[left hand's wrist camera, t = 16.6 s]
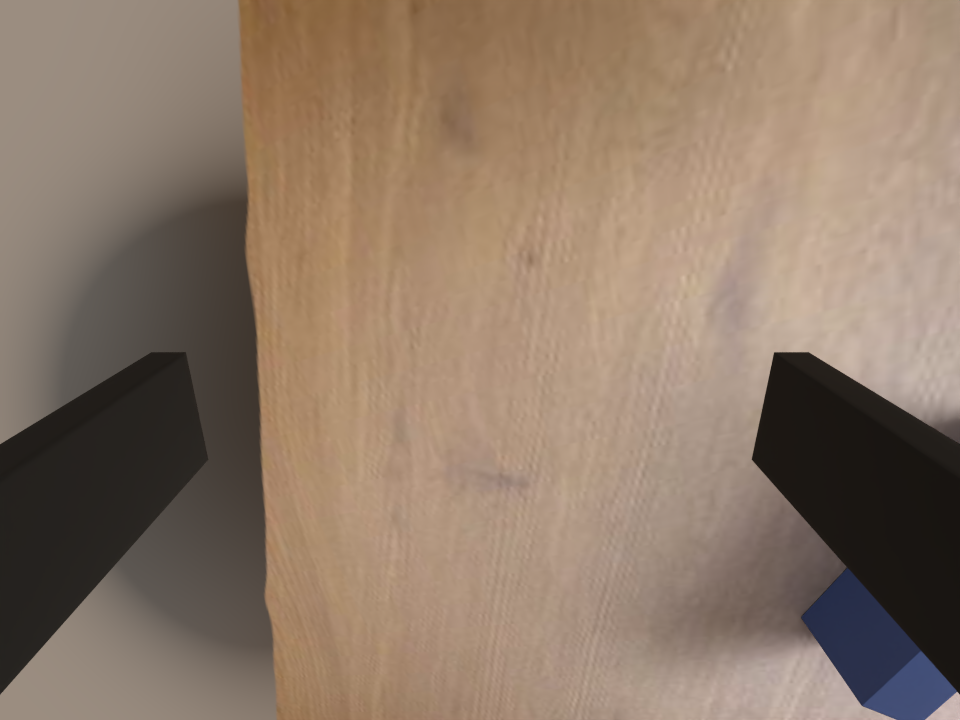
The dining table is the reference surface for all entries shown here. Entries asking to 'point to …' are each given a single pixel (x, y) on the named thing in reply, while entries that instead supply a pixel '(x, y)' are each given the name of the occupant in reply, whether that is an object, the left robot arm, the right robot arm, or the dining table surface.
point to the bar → (875, 653)
